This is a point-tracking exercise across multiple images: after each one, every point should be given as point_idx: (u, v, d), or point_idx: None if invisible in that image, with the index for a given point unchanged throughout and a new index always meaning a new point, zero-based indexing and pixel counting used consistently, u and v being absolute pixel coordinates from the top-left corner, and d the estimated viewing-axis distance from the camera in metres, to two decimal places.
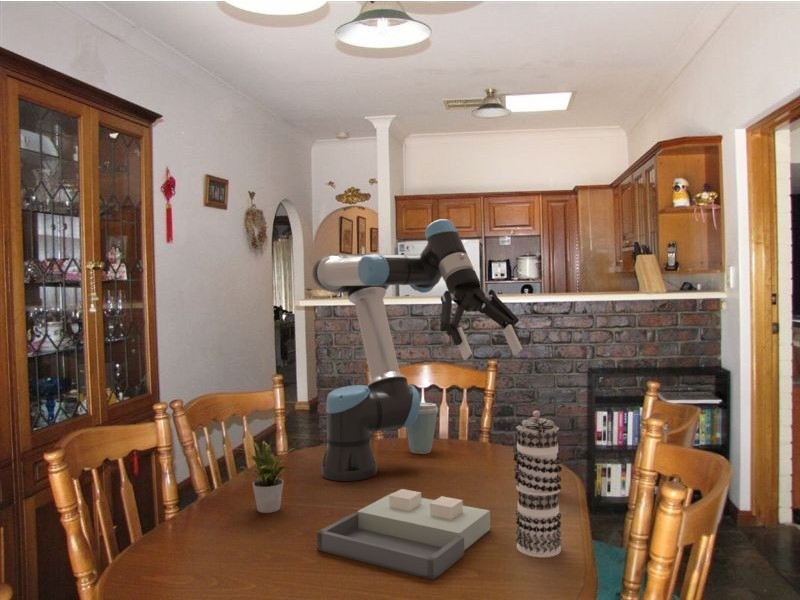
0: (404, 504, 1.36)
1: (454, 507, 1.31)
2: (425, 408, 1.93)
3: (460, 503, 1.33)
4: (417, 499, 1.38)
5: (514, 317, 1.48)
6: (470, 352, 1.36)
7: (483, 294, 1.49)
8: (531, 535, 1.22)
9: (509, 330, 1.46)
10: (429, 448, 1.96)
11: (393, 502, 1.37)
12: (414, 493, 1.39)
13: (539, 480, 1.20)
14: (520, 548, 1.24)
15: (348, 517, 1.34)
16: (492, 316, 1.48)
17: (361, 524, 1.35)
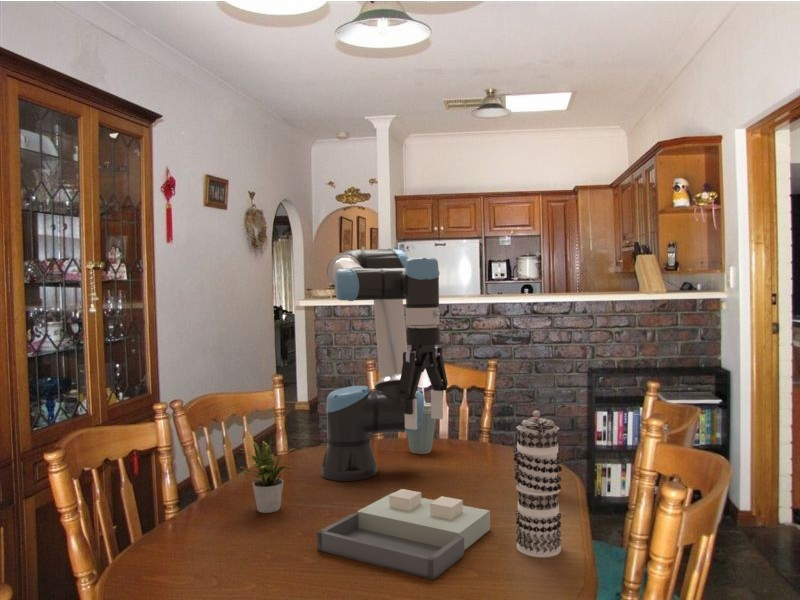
0: (404, 504, 1.36)
1: (454, 507, 1.31)
2: (425, 408, 1.93)
3: (460, 503, 1.33)
4: (417, 499, 1.38)
5: (445, 381, 1.52)
6: (416, 428, 1.40)
7: (434, 352, 1.47)
8: (531, 535, 1.22)
9: (438, 396, 1.50)
10: (429, 448, 1.96)
11: (393, 502, 1.37)
12: (414, 493, 1.39)
13: (539, 480, 1.20)
14: (520, 548, 1.24)
15: (348, 517, 1.34)
16: (430, 375, 1.49)
17: (361, 524, 1.35)
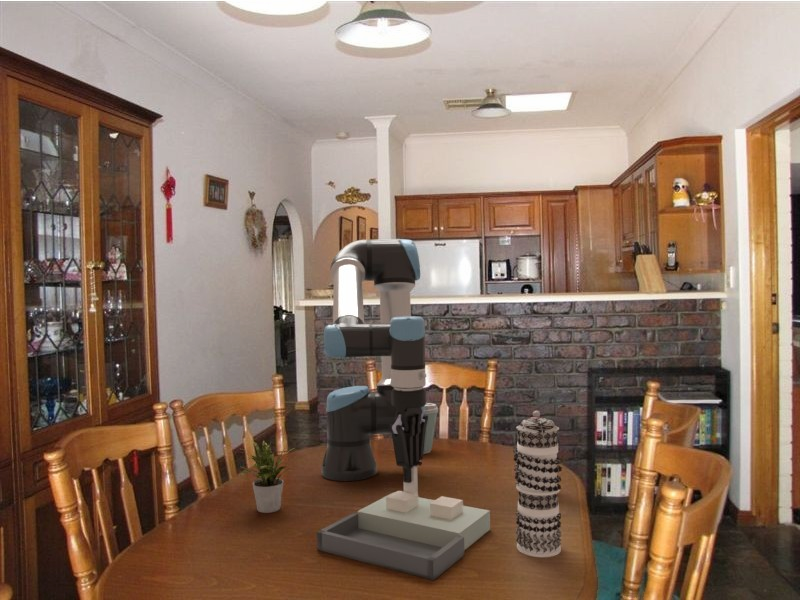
0: (401, 506, 1.35)
1: (454, 507, 1.31)
2: (425, 408, 1.93)
3: (460, 503, 1.33)
4: (414, 501, 1.37)
5: (421, 454, 1.42)
6: None
7: (420, 414, 1.42)
8: (531, 535, 1.22)
9: None
10: (429, 448, 1.96)
11: (390, 504, 1.36)
12: (411, 494, 1.38)
13: (539, 480, 1.20)
14: (520, 548, 1.24)
15: (348, 517, 1.34)
16: None
17: (361, 524, 1.35)
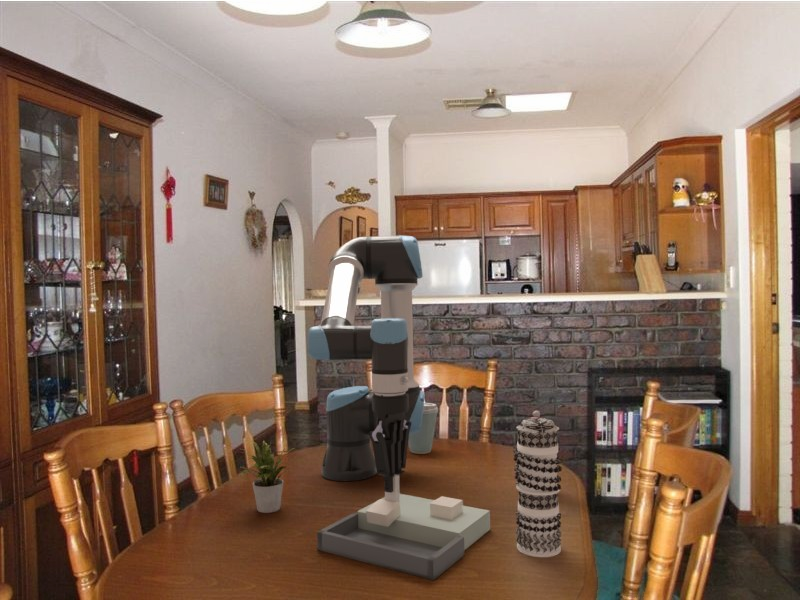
0: (382, 520, 1.29)
1: (454, 507, 1.31)
2: (425, 408, 1.93)
3: (460, 503, 1.33)
4: (396, 511, 1.31)
5: (404, 462, 1.36)
6: None
7: (403, 420, 1.36)
8: (531, 535, 1.22)
9: None
10: (429, 448, 1.96)
11: (370, 517, 1.30)
12: (392, 504, 1.32)
13: (539, 480, 1.20)
14: (520, 548, 1.24)
15: (348, 517, 1.34)
16: None
17: (361, 524, 1.35)
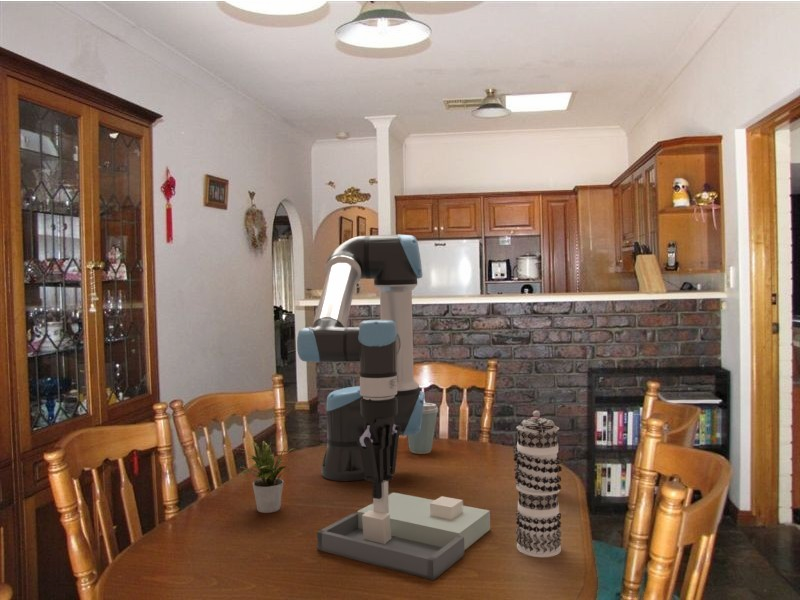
0: None
1: (454, 507, 1.31)
2: (425, 408, 1.93)
3: (460, 503, 1.33)
4: (386, 525, 1.28)
5: (393, 467, 1.33)
6: (385, 513, 1.30)
7: (392, 425, 1.32)
8: (531, 535, 1.22)
9: None
10: (429, 448, 1.96)
11: None
12: (378, 524, 1.27)
13: (539, 480, 1.20)
14: (520, 548, 1.24)
15: (348, 517, 1.34)
16: None
17: (361, 524, 1.35)
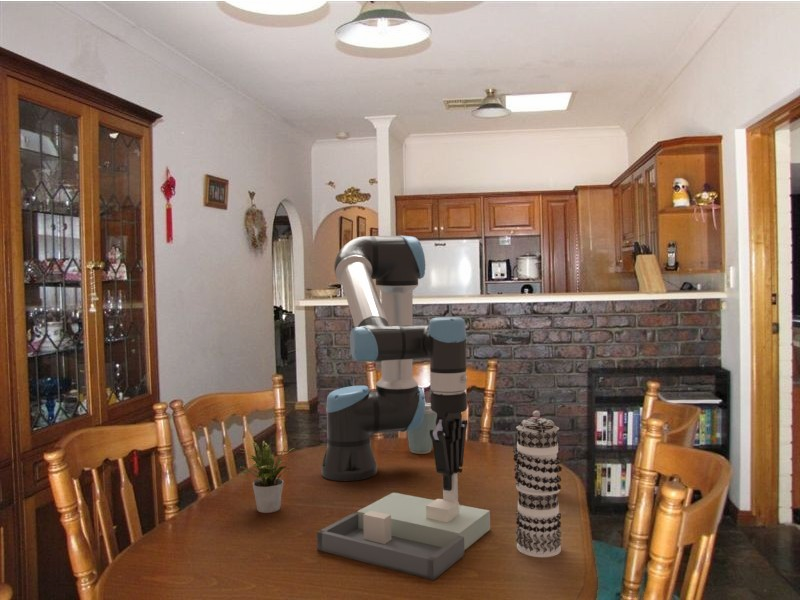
0: None
1: (450, 509, 1.30)
2: (425, 408, 1.93)
3: (456, 505, 1.32)
4: (387, 525, 1.28)
5: (461, 460, 1.36)
6: None
7: (460, 419, 1.36)
8: (531, 535, 1.22)
9: None
10: (429, 448, 1.96)
11: None
12: (379, 523, 1.28)
13: (539, 480, 1.20)
14: (520, 548, 1.24)
15: (348, 517, 1.34)
16: None
17: (361, 524, 1.35)
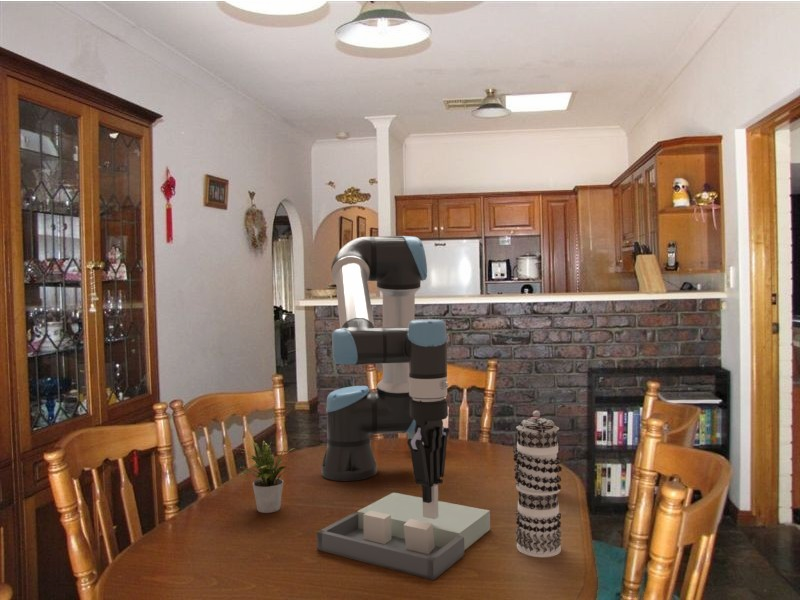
0: None
1: (428, 546, 1.22)
2: None
3: (427, 534, 1.22)
4: (387, 525, 1.28)
5: (442, 470, 1.29)
6: (435, 517, 1.26)
7: (441, 427, 1.29)
8: (531, 535, 1.22)
9: None
10: None
11: None
12: (379, 523, 1.28)
13: (539, 480, 1.20)
14: (520, 548, 1.24)
15: (348, 517, 1.34)
16: None
17: (361, 524, 1.35)
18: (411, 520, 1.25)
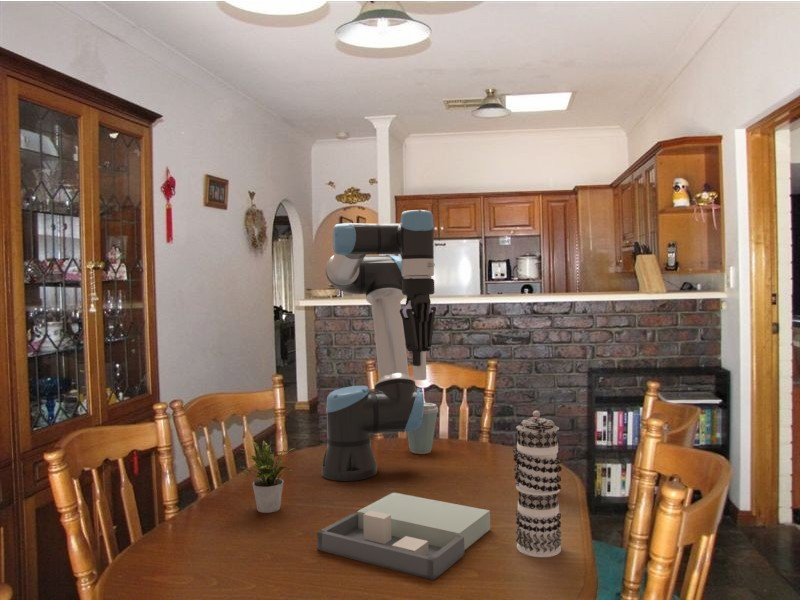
0: None
1: None
2: (425, 408, 1.93)
3: None
4: (387, 525, 1.28)
5: (430, 341, 1.52)
6: (423, 379, 1.49)
7: (429, 304, 1.51)
8: (531, 535, 1.22)
9: None
10: (429, 448, 1.96)
11: None
12: (379, 523, 1.28)
13: (539, 480, 1.20)
14: (520, 548, 1.24)
15: (348, 517, 1.34)
16: None
17: (361, 524, 1.35)
18: None
